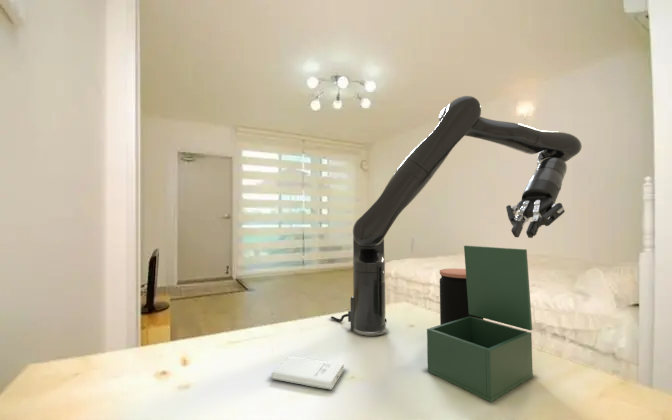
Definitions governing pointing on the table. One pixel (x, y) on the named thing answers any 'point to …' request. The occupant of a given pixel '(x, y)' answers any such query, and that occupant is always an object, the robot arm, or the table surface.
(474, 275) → the green lid
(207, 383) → the table surface
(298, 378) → the hard drive
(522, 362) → the green box
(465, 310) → the coffee jar
